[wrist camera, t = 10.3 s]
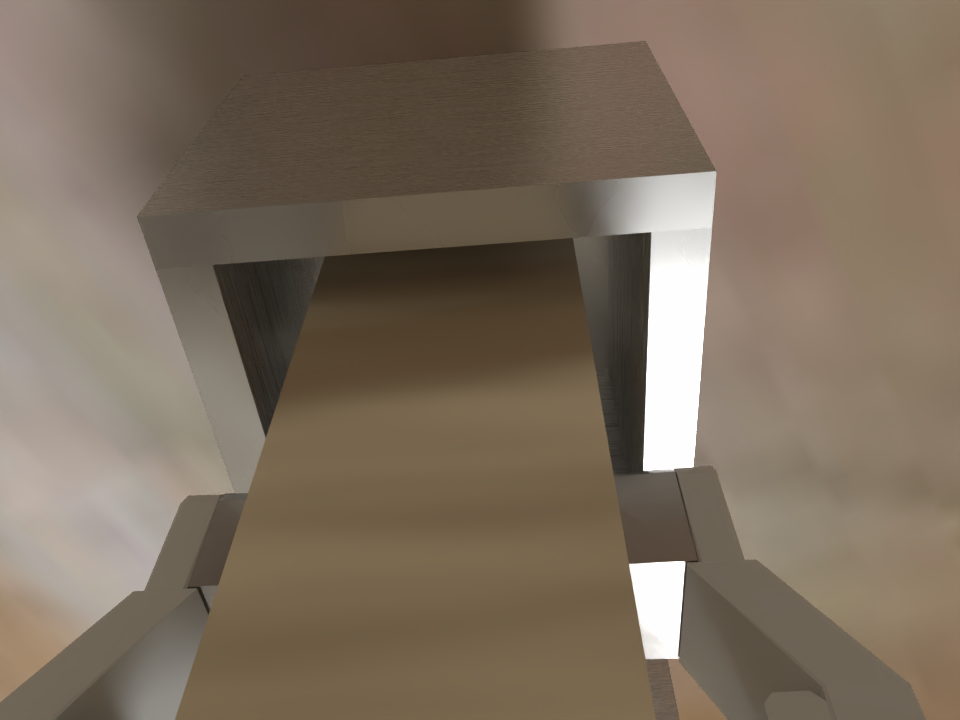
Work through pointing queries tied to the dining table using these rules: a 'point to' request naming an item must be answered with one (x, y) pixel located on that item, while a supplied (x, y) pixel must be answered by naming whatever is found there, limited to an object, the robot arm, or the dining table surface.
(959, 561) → the dining table surface
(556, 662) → the rail post
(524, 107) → the cup bracket
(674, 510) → the robot arm
